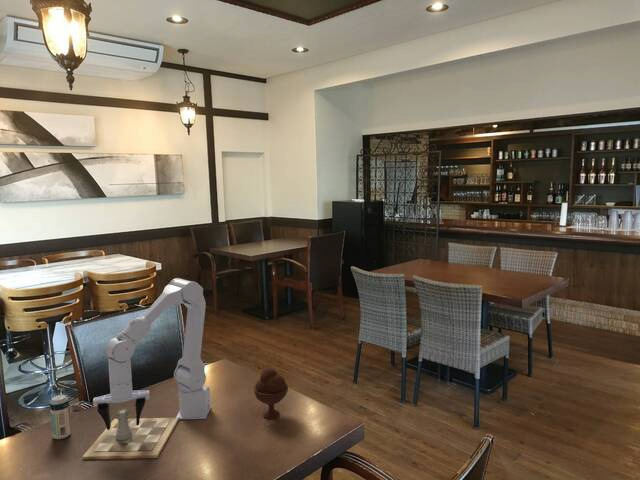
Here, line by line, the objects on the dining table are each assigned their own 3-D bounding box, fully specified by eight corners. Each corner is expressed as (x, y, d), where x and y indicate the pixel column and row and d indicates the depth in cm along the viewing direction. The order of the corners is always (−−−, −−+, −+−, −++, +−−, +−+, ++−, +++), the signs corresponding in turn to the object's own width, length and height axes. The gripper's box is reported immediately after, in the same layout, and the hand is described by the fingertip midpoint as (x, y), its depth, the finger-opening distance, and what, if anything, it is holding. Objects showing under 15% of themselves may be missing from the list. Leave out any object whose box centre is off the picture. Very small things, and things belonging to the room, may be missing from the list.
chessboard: (178, 420, 142) (178, 417, 142) (157, 457, 123) (157, 454, 122) (114, 421, 142) (114, 418, 142) (82, 459, 122) (82, 455, 122)
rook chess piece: (134, 432, 134) (132, 406, 133) (129, 440, 129) (128, 413, 128) (118, 433, 133) (116, 407, 132) (113, 441, 129) (111, 414, 128)
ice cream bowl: (247, 420, 142) (246, 374, 140) (265, 404, 152) (264, 361, 150) (278, 426, 138) (277, 379, 136) (293, 410, 148) (293, 366, 146)
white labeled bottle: (74, 432, 136) (71, 393, 135) (64, 440, 131) (61, 401, 130) (59, 431, 136) (56, 393, 135) (48, 440, 132) (45, 400, 130)
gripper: (148, 371, 134) (151, 414, 136) (94, 378, 130) (97, 423, 131) (147, 381, 127) (150, 426, 129) (90, 388, 123) (93, 435, 125)
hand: (123, 425), depth 130 cm, fingers open, 7 cm apart
